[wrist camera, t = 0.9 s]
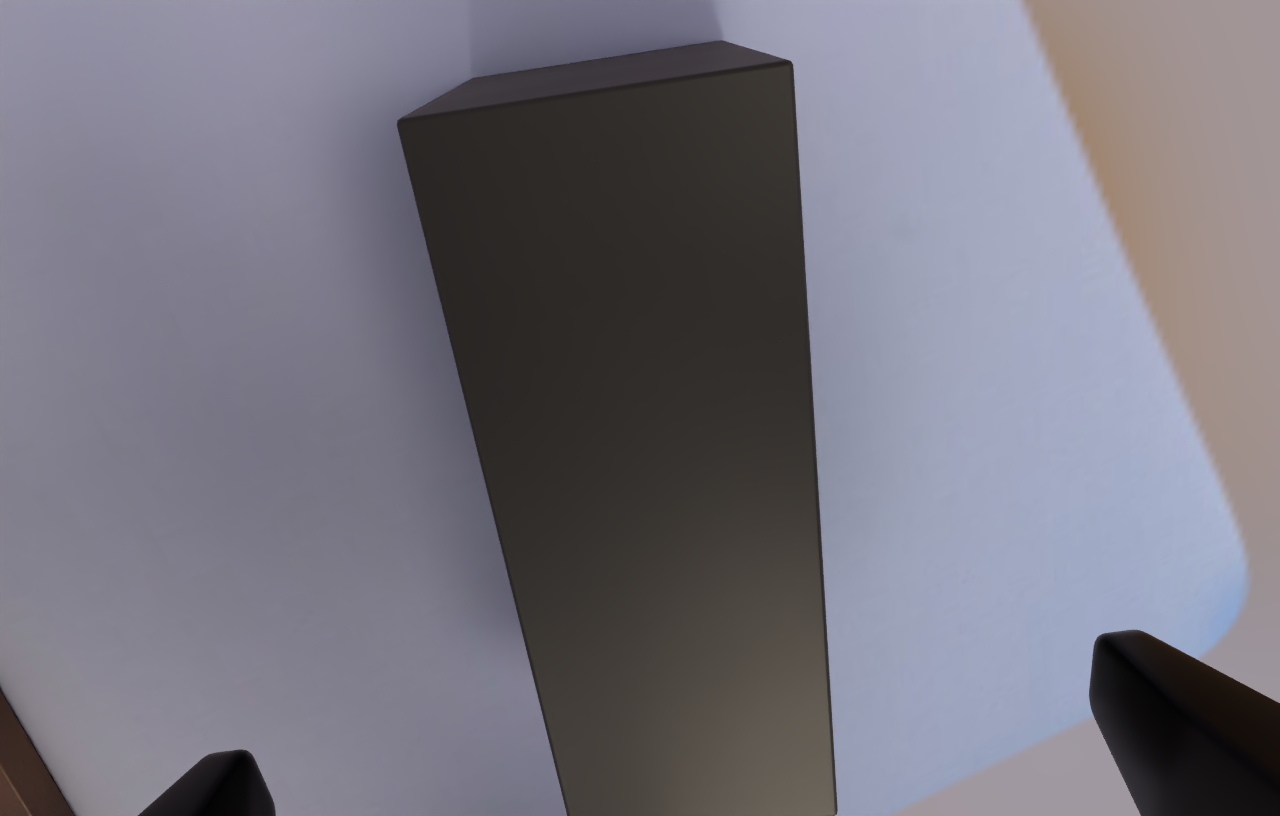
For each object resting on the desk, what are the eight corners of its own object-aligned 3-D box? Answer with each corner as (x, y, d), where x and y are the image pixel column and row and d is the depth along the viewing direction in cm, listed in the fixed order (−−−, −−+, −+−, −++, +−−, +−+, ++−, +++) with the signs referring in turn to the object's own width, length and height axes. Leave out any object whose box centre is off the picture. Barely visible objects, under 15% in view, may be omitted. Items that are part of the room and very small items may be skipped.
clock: (781, 596, 20) (847, 815, 15) (582, 623, 20) (575, 851, 15) (733, 38, 15) (807, 57, 10) (469, 78, 15) (393, 118, 10)
